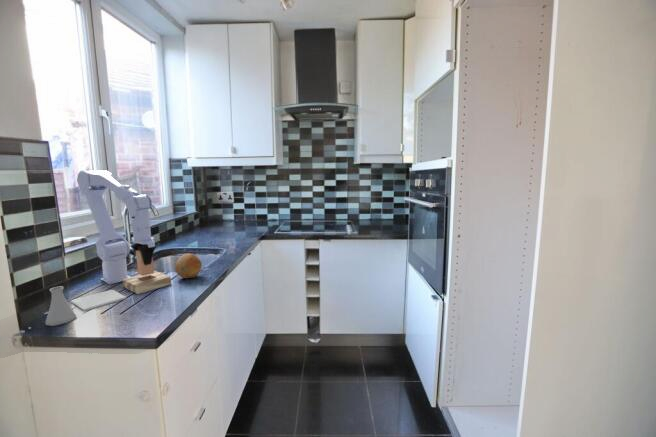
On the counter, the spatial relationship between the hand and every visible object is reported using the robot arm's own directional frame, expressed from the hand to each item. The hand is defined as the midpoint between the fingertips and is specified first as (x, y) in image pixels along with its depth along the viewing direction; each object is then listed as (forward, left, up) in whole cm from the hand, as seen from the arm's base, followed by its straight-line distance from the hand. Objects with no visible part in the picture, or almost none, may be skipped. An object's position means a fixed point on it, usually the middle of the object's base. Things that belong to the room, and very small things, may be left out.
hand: (145, 263), depth 119 cm
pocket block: (0, 0, -9) cm, 9 cm away
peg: (0, 0, -4) cm, 4 cm away
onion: (+5, +14, -9) cm, 17 cm away
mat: (+1, -16, -9) cm, 18 cm away
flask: (+9, -28, -9) cm, 31 cm away
